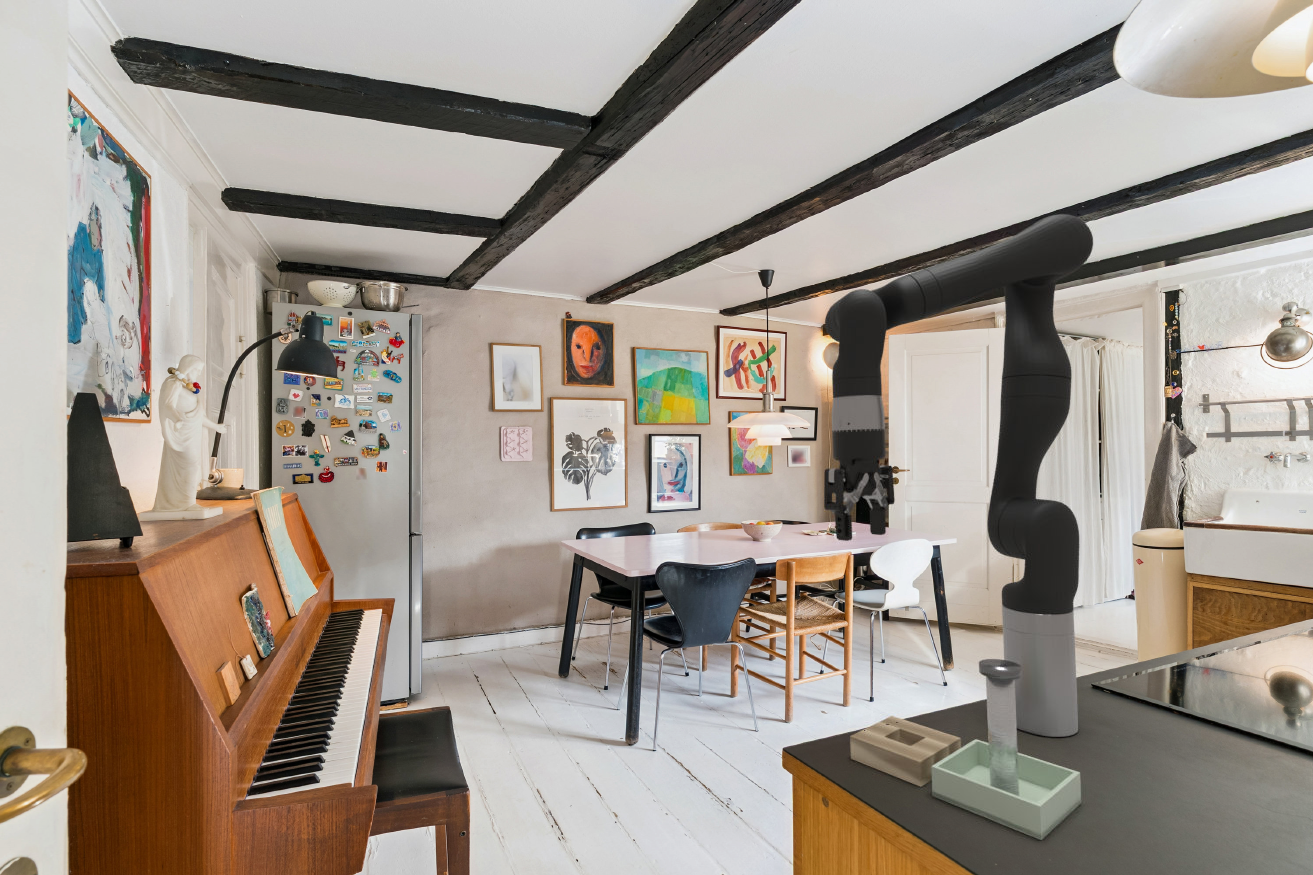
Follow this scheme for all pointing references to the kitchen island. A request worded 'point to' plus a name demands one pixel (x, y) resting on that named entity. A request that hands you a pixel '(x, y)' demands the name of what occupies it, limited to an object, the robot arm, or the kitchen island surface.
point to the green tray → (1033, 812)
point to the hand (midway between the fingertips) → (861, 537)
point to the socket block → (902, 749)
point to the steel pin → (1002, 722)
